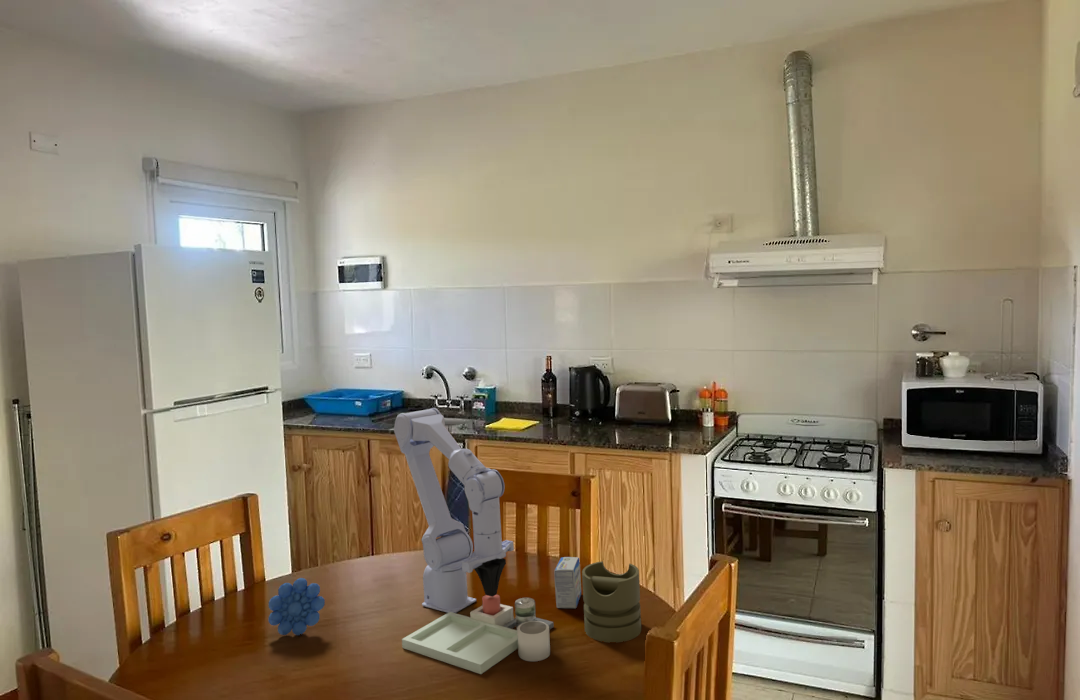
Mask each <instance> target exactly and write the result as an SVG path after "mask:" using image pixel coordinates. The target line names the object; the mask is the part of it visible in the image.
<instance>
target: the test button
mask: <svg viewBox="0 0 1080 700" xmlns="http://www.w3.org/2000/svg"><path fill="white" fill-rule="evenodd" d="M481 599H482V605H483V613H485V614H489V615H492V616H494V615H495V614H497V613H498V612H500V604H501V596H500V595H499V594H496V595H495V596H493V597H492V596H488V595H484V596H482V598H481Z"/></svg>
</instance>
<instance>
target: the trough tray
mask: <svg viewBox="0 0 1080 700" xmlns="http://www.w3.org/2000/svg"><path fill="white" fill-rule="evenodd" d="M401 648H402V649H405V650H408V651H411V652H413V653H416V654H419V655H422V656H425V657H429V658H431V659H435V660H438V661H441V662H444V663H447V664H449V665H453V666H455V667H457V668H460V669H465V670H468V671H470V672H473V673H476V674H479V675H482V674H483V673H485V672H487V671H488V670H489V669H491V668H492V667H494V666H495V665H496V664H498V663H499V662H500V661H502V660H504V659H505V658H506V657H508V656H509V655H510V654H512V653H513V652H514V651H516V650H518V634H517V630H516V629H514V628H512V629H510V628H506V627H503V626H499V625H496V624H491V623H487V622H484V621H480V620H477V619H473V618H471V617H470V616H467V615H463V614H459V613H457V612H456V613H453V612H449V613H447V612H446V613H445V614H444V615H442V616H440V617H438V618H436V619H434V620H433V621H431V622H430V623H427V624H426V625H424V626H422V627H421V628H418V629H417V630H415V631H414V632H412V633H410V634H408V635H407V636H404V637H403V638H401Z"/></svg>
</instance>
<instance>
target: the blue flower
mask: <svg viewBox="0 0 1080 700" xmlns="http://www.w3.org/2000/svg"><path fill="white" fill-rule="evenodd" d="M320 591H321V587H320V585H319V584H318V583H314V582H312V583H310V584H309V585H308V580H307V579H306V578H304V577H299V578H297V579H296V580H294V582H293V584H292V583H290V582H284V583H283V584H281V585H280V586H279V587H278V590H277V595H274V596H272V597H271V598H270V599H269V601H268V609H269V610H270V611H271V612H270V614H269V615H268V623H269V625H271V626H277V633H278V634H279V635H281V636H287V635H288V634H289V633H290V632H292V633H293V634H294V635H295V636H301V635H303V634H304V633H305V632H306V631H307V629H308V627H307V626H309V627H313V626H315V625H316V624H317V623H319V621H320V613H319V611H321V610H322V609H323V608H324V606H325V605H326V604H325V603H326V602H325V601H326V599H325V598H324V597H323V596H322V595H321V596H320ZM300 634H301V635H300Z"/></svg>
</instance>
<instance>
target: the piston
mask: <svg viewBox="0 0 1080 700" xmlns="http://www.w3.org/2000/svg"><path fill="white" fill-rule="evenodd" d="M581 573H582V574H581V575H582V576H581V577H582V579H581V580H582V594H583V595H582V598H583V602H584V603H583V614H584V615H583V619H584V632H586V633H585V634H586V635H587V637H589V638H590V639H592V638H593V640H595V641H598V642H602V641H604V642H603V643H610V642H616V643H622V642H623V641H624V642H628V641H630V640H633V639H636V638H637V637H638V636H639V635H640V634H641V632H642V615H641V612H642V611H641V603H640V600H641V593H640V591H641V590H640V589H641V587H640V585H641V584H640V569H639V568H638V567H637V566H636V565H635V564H633V563H629V564H628V570H627V571H626V572H624V573H620V574H618V573H613V572H611V571H609V570H608V568H606V567H605V565H604V561H602V560H601V561H597V562H593V563H590V564H588V565H586V566H585V567H584V568H583V569H582V571H581Z"/></svg>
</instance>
